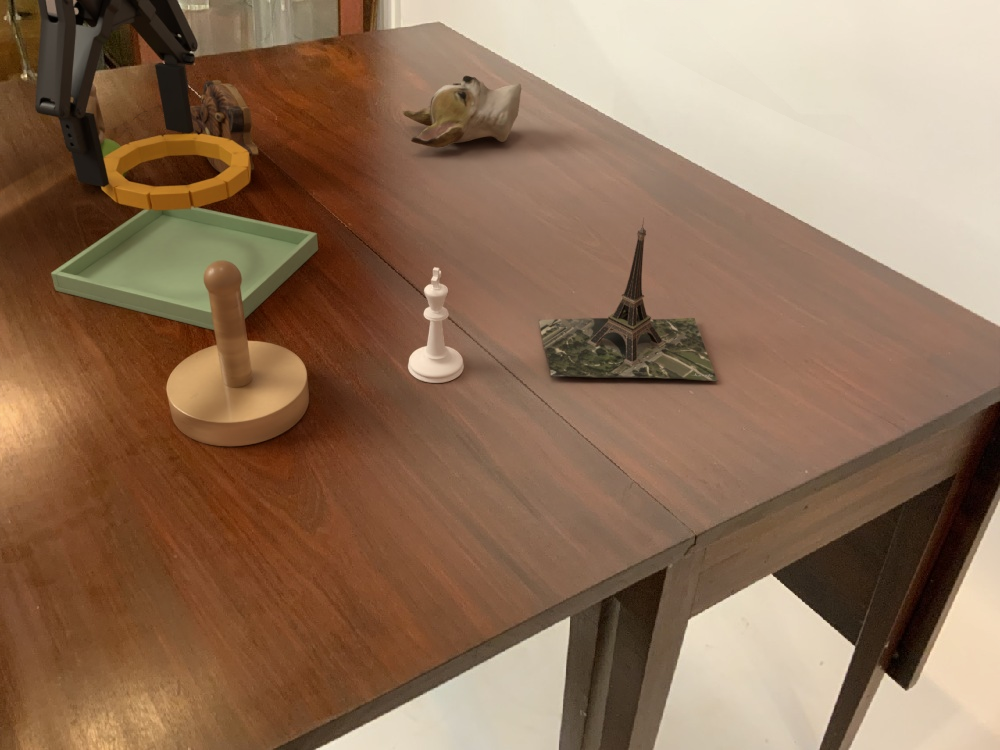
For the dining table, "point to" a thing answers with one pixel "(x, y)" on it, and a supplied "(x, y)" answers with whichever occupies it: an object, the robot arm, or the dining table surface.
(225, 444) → the post
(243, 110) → the wooden carving
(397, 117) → the dining table surface
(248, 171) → the hoop
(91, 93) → the snail figurine
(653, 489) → the dining table surface
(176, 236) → the tray
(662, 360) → the eiffel tower figurine
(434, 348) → the chess piece
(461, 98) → the ceramic sculpture
